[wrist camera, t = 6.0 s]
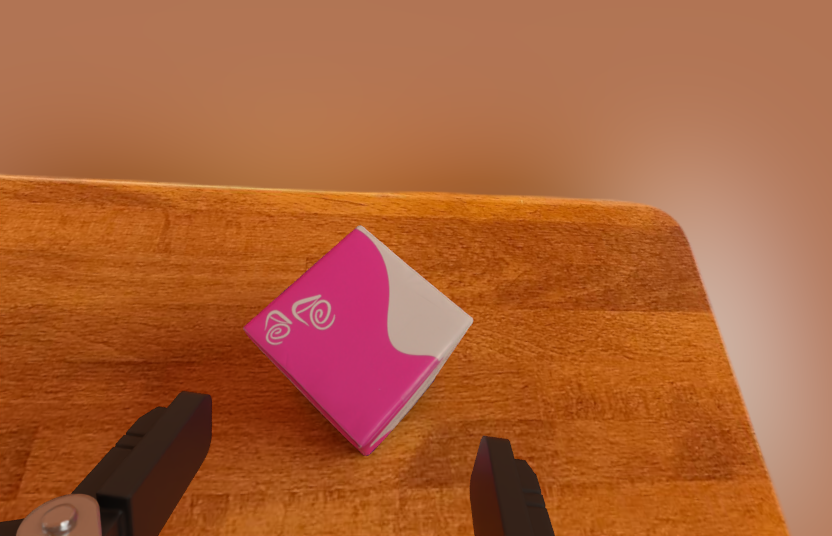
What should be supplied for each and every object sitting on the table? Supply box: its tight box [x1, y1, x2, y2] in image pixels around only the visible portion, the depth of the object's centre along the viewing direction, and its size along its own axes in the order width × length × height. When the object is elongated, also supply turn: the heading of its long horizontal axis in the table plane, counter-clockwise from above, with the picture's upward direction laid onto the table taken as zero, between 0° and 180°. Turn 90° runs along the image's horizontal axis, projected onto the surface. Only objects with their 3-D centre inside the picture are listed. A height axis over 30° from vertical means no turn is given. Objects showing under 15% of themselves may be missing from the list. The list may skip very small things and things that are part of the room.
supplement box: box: [243, 225, 473, 456], centre depth 20 cm, size 6×6×12 cm
